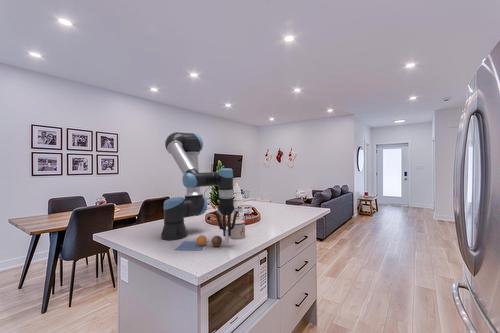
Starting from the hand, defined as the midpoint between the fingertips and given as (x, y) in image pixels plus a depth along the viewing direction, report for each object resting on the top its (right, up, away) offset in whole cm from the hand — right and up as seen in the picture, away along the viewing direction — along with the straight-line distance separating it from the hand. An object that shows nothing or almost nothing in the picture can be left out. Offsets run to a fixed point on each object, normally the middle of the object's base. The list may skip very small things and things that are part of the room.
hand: (227, 242), depth 124 cm
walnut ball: (-6, +1, 0) cm, 6 cm away
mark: (-19, -2, +2) cm, 19 cm away
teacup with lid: (+5, -2, +18) cm, 18 cm away
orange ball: (-14, 0, +1) cm, 14 cm away
